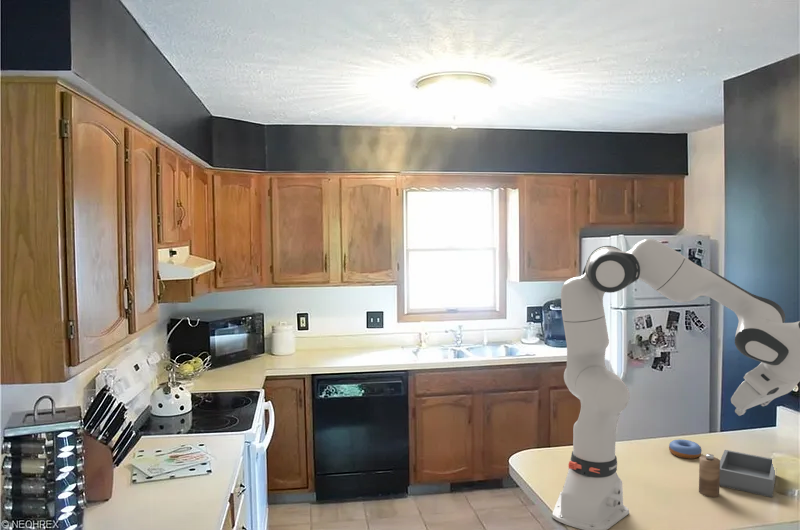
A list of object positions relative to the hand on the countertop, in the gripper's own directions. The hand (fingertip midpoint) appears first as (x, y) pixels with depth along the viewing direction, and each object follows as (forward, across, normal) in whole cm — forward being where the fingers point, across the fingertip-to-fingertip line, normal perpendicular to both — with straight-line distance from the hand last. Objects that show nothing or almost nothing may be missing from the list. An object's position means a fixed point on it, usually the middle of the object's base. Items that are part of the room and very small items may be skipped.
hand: (750, 408), depth 155 cm
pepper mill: (+29, +5, +7) cm, 30 cm away
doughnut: (+45, -14, -11) cm, 48 cm away
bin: (+31, -13, +7) cm, 35 cm away
